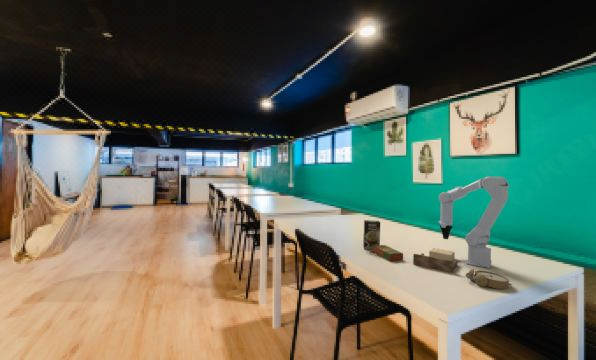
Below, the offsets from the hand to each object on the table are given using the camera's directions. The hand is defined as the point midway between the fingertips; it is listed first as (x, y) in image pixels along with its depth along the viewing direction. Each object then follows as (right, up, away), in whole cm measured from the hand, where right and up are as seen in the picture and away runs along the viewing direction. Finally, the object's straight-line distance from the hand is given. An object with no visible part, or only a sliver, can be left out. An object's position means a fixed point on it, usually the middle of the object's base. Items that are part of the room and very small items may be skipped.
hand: (445, 238), depth 146 cm
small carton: (-6, -9, -7) cm, 13 cm away
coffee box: (-38, -8, +11) cm, 40 cm away
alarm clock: (-5, -10, -39) cm, 40 cm away
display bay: (-14, -9, -17) cm, 24 cm away
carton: (-34, -9, -4) cm, 35 cm away
